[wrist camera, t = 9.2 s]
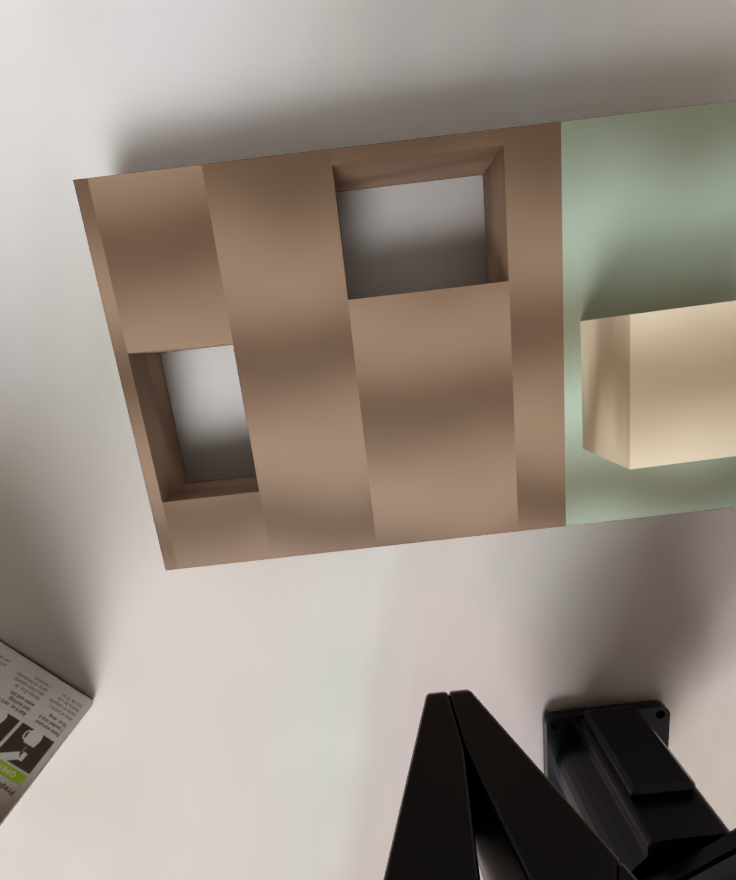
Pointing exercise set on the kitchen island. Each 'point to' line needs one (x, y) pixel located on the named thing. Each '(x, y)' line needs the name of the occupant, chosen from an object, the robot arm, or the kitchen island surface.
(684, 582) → the kitchen island surface
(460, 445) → the board
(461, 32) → the kitchen island surface
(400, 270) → the kitchen island surface
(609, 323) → the block
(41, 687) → the coffee box
